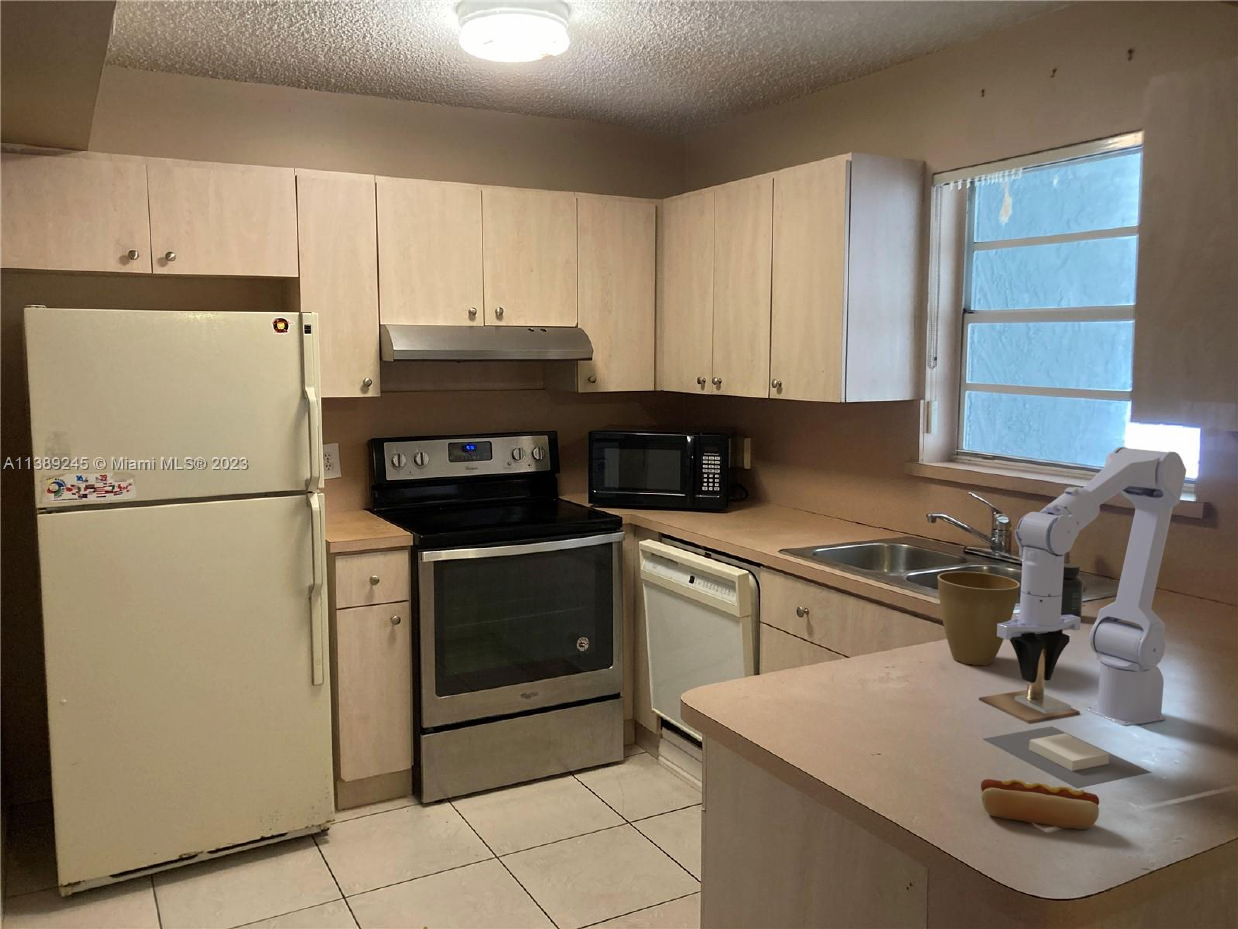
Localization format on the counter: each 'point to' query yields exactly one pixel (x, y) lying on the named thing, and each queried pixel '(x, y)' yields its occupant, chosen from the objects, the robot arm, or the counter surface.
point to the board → (1022, 707)
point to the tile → (1069, 752)
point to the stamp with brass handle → (1041, 692)
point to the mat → (1078, 778)
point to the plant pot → (975, 613)
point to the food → (1040, 803)
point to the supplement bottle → (1072, 591)
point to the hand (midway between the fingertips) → (1036, 679)
